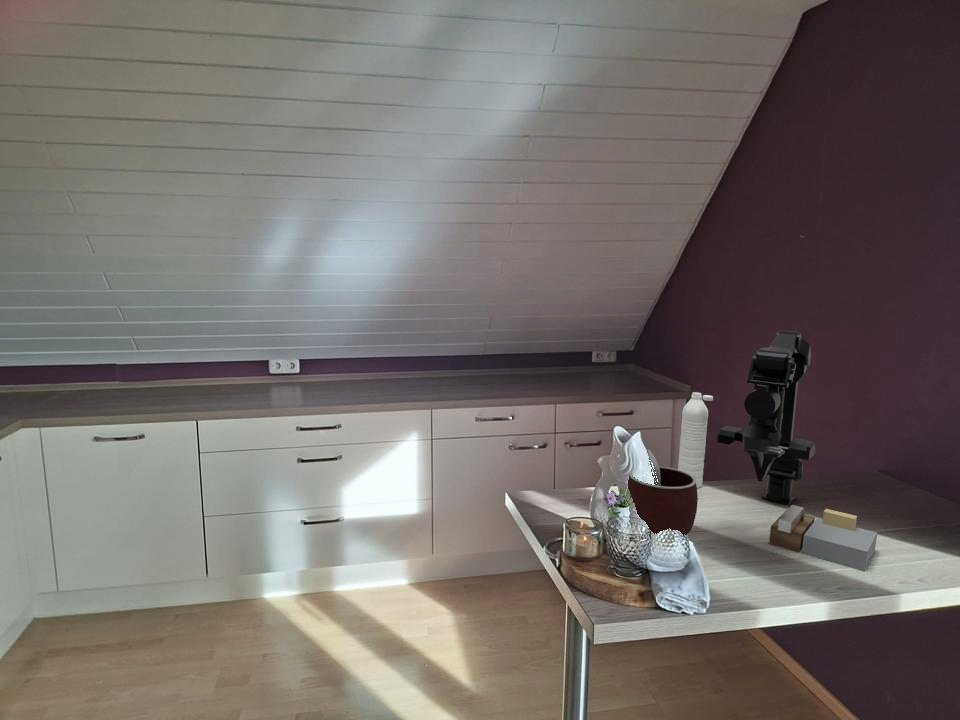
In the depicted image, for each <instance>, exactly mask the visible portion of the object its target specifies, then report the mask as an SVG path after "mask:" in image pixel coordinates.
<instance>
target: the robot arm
mask: <svg viewBox="0 0 960 720" xmlns="http://www.w3.org/2000/svg"><path fill="white" fill-rule="evenodd" d="M775 334H776V335H775V338H774V339H773V340H772V342H771V344H770V346H769V347H761V348H759V349H758V350H757V351H756V353H754V354H753V355H752V357H751V362H750V366H749V372H748V374H747V375H748V376H747V379H746V383H747V384H751V385H752V384H753V385H754V388H753V391H751V392H750V393H748V394H747V396H746V397H745V399H744V404H743V405H744V408H745V411H746V413H747V414H748V415H749V416H750V422H749V424H748V425H747V426H746V428H745V430H744V429H743V427H736V426H730V425H725V426H723V427H722V428H720V429H718V430H717V432H716V435H715V442H716V443H720V444H725V445H728V446H729V445H732V444H733V443H734V442H735V441H737V442H741V443H742V447H743V448H742V452H744V453H747V454H748V456H750V458H751V461H752V463H753V467H754V471H755V474H756V475H755V476H756V478H757V481H758V482H763V481H764V479H765V478H766V476H767V483H766V491H765V492H764V494H762V495H761V499H763V500H768V501H772V502H776V503H780V504H783V505H790V504H791V503H792V502H793V501H794V500H795V498H796V496H795V495H792V490H793V489H792V488H793V480H794V481H796V482H797V481H798V480H802V479H803V472H804V471H803V465H804V464H803V462H802V460H804V461H809V460H810V459H811V458H812V457H814V455H815V454H816V444H815V442H814V441H812V440H807V439H802V438H801V439H800V438H797V437H794V429H795V420H796V419H795V418H796V409H797V408H796V406H797V398H798V388H799V387H798V386H799V380H801V378H802V377H803V376H804V375H805V373H806V371H807V369H808V367H810V365H811V359H812V348H811V347H812V346H811V344H810V343H809V342H807V341H806V340H805V339H803V337H802V333H801V332H798V331H792V330H791V331H790V330H780V331H776V333H775ZM743 430H744V431H743Z"/></svg>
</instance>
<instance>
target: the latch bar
mask: <svg viewBox="0 0 960 720" xmlns="http://www.w3.org/2000/svg"><path fill="white" fill-rule="evenodd" d="M786 510H787V511H786ZM786 510H785V511H786V512H785V511H784V512H785V513H784V512H783V513H784V514H783V513H782V514H783V515H782V514H781V515H782V516H781V515H780V516H781V517H780V516H779V517H780V519H779V524H778V530H780V531H784V532H788V533H791V532H792V530H793V529H794V528H795V527H796V526H797V524H798V523H799V522H800V521H803V520H804V515H805V513H806V510H805V507H803V506H799V505H795V504H791V505H789V506H788V508H787V509H786Z"/></svg>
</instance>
